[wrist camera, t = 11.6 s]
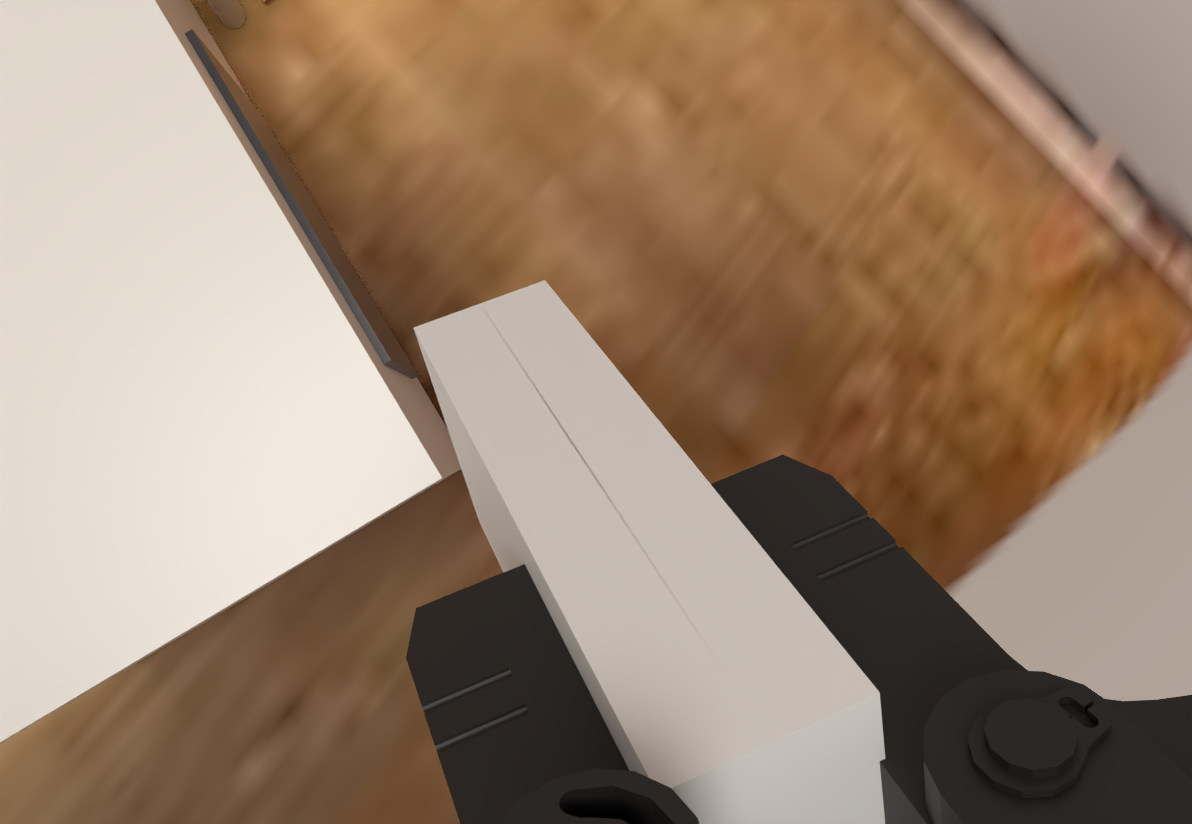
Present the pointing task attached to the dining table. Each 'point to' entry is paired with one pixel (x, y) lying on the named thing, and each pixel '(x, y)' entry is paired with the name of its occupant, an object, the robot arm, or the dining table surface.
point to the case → (169, 351)
